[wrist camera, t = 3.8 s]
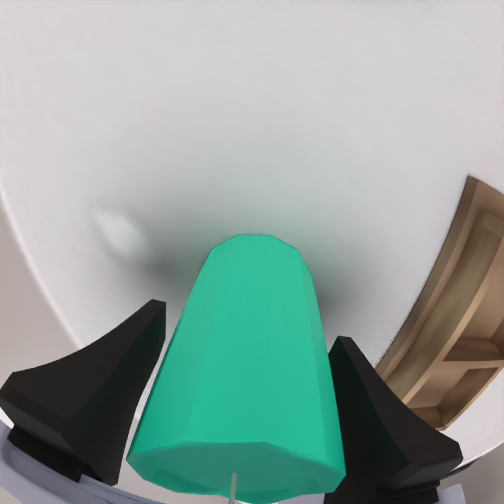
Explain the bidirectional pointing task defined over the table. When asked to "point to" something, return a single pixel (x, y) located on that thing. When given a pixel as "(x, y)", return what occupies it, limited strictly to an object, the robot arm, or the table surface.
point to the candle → (244, 384)
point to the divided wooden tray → (455, 317)
